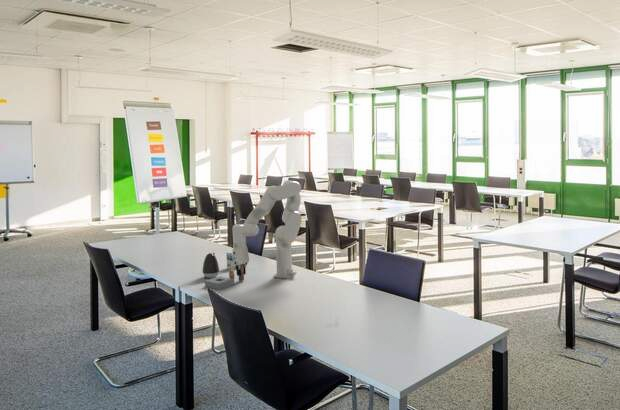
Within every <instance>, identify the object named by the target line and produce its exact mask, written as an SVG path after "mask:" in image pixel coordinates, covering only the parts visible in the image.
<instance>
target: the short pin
mask: <svg viewBox="0 0 620 410" xmlns="http://www.w3.org/2000/svg"><path fill="white" fill-rule="evenodd" d="M228 278H231V279H234V280H235V269H229V270H228Z"/></svg>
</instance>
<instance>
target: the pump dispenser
mask: <svg viewBox="0 0 620 410" xmlns="http://www.w3.org/2000/svg"><path fill="white" fill-rule="evenodd" d="M218 262H219V261H218V259H217V257H216V256H215V253H214V252H213V253H212V252H211V253H207V254H206V256H205V258H204V261H203V263H202V264H203V265H202V274H203V277H205V278H207V279H212V278H216V277H218V275H219V273H220V266H219V263H218Z"/></svg>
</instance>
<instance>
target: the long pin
mask: <svg viewBox="0 0 620 410" xmlns="http://www.w3.org/2000/svg"><path fill="white" fill-rule="evenodd" d="M240 269H241V276H238V281H240V282H241V281H244V280H245V275H244V267H243V264H241V265H240Z"/></svg>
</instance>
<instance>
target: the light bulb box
mask: <svg viewBox="0 0 620 410" xmlns="http://www.w3.org/2000/svg"><path fill="white" fill-rule="evenodd" d="M232 253H233V250H232V251H227V252H226V268H227V269H229V270H236V269H235V267H233V266H232V264H233V260H232Z"/></svg>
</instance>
